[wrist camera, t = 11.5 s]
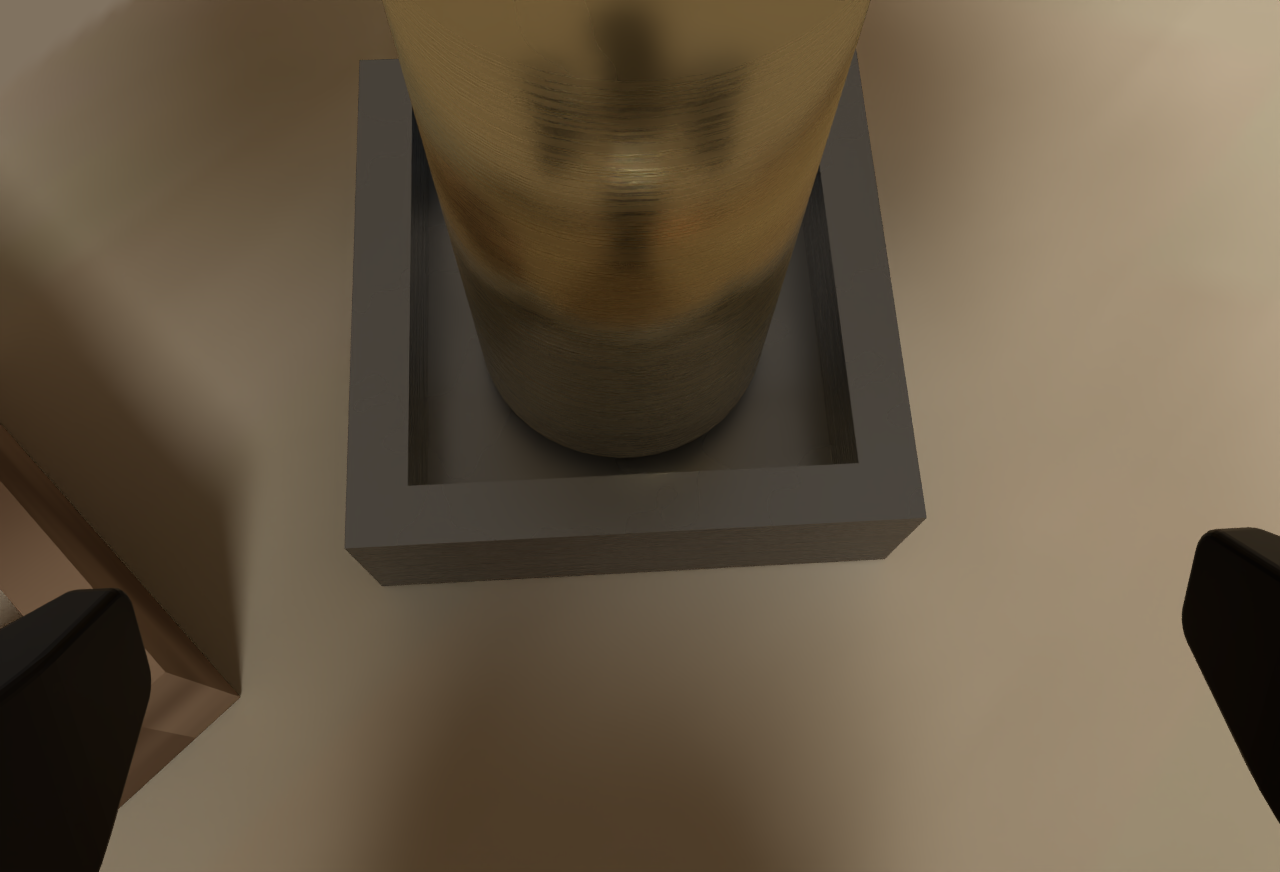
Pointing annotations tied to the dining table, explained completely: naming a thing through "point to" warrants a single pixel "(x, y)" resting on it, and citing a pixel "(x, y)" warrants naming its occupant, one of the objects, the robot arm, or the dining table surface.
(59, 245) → the dining table surface
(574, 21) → the tan cylinder
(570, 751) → the dining table surface
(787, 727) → the dining table surface
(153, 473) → the dining table surface
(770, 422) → the tray
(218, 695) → the walnut socket
